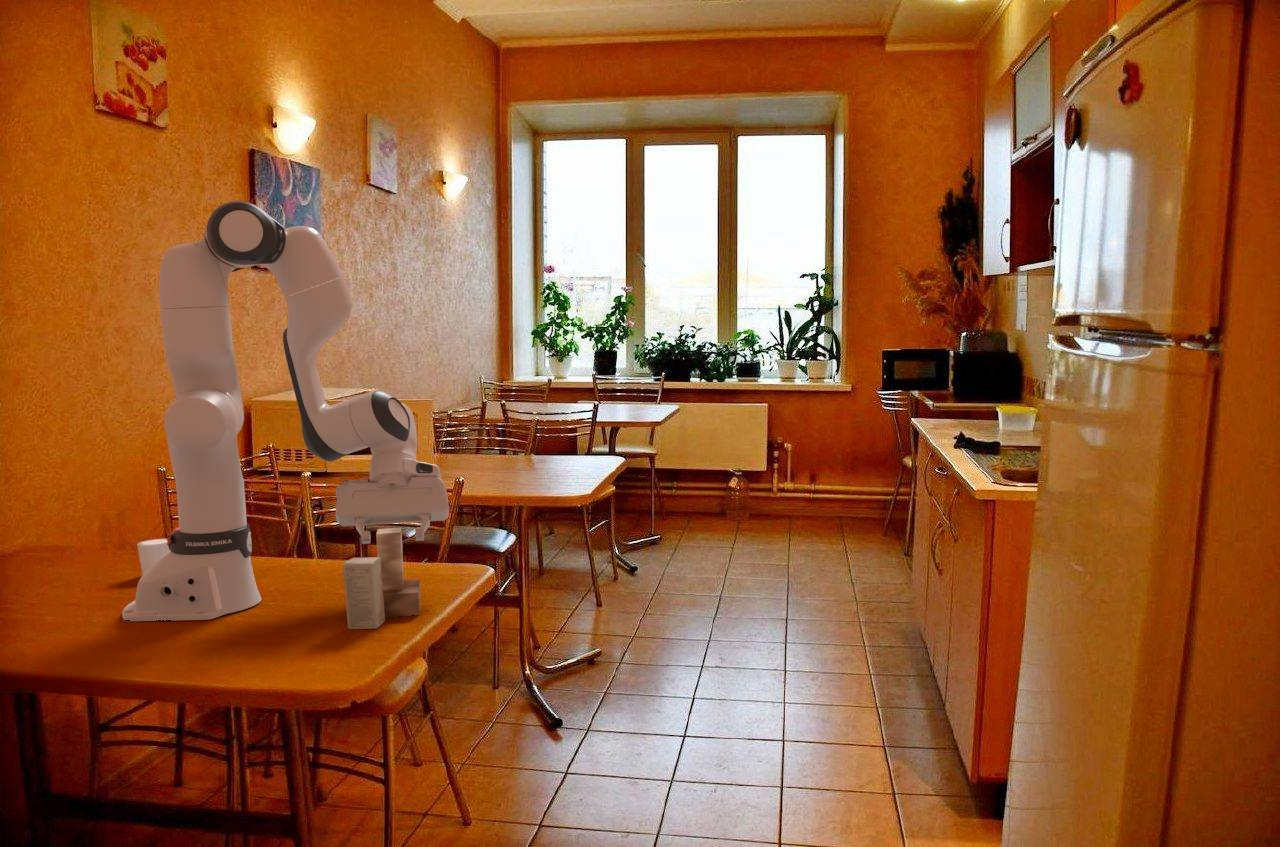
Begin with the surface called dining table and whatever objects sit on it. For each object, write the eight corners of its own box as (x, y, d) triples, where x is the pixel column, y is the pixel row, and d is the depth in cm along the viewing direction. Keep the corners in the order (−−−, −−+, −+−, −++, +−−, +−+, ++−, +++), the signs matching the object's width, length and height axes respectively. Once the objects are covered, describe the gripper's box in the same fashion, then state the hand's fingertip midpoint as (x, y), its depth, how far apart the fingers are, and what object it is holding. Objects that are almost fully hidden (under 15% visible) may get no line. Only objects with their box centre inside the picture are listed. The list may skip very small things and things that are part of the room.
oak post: (379, 591, 171) (376, 533, 170) (380, 585, 175) (377, 529, 174) (403, 589, 172) (400, 532, 171) (404, 583, 176) (401, 527, 175)
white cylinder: (170, 569, 206) (168, 536, 206) (182, 575, 201) (179, 541, 201) (135, 575, 202) (132, 541, 201) (145, 582, 197) (143, 547, 196)
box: (386, 621, 167) (382, 556, 166) (376, 629, 163) (373, 563, 162) (355, 621, 168) (352, 556, 167) (345, 629, 164) (342, 563, 163)
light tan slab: (364, 619, 169) (363, 596, 168) (368, 604, 178) (367, 582, 177) (419, 615, 171) (418, 592, 170) (420, 600, 179) (419, 578, 179)
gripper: (334, 471, 184) (330, 534, 176) (447, 465, 188) (449, 527, 179) (338, 490, 189) (335, 553, 181) (448, 485, 193) (450, 546, 184)
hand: (392, 540), depth 180 cm, fingers open, 8 cm apart
